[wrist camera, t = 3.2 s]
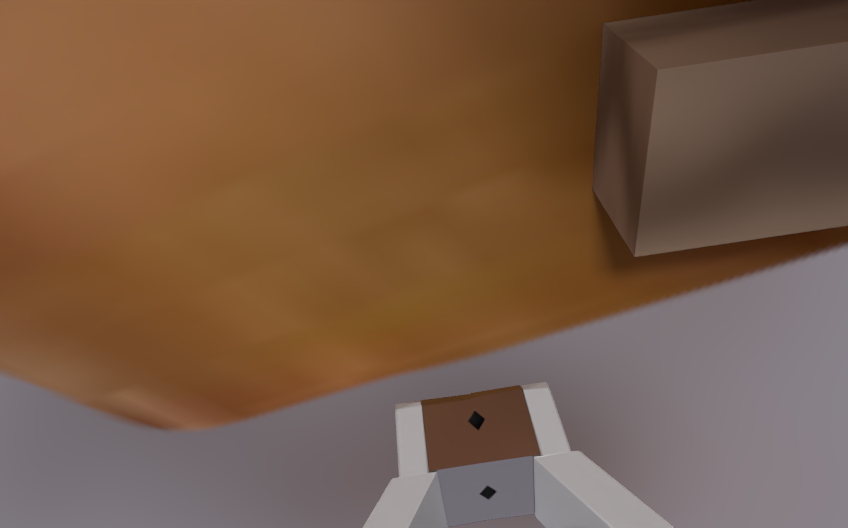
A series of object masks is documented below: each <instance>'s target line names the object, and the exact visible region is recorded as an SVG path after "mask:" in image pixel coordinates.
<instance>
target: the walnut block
mask: <svg viewBox="0 0 848 528" xmlns="http://www.w3.org/2000/svg"><path fill="white" fill-rule="evenodd" d="M592 190H593V191H594V193H595V194H596V196H597V198H598V199H599V201H600V202H601V204H602V206H603V207H604V209H605V211H606V212H607V214H608V215H609V217H610V219H611V220H612V222H613V223H614V225H615V227H616V228H617V230H618V231H619V233H620V235H621V236H622V238H623V240H624V241H625V243H626V244H627V246H628V248H629V249H630V251H631V252H632V254H633V256H634V257H639V256H645V255H652V254H659V253H666V252H672V251H679V250H686V249H693V248H700V247H706V246H713V245H720V244H727V243H733V242H740V241H747V240H754V239H761V238H767V237H774V236H781V235H788V234H794V233H801V232H808V231H815V230H821V229H828V228H835V227H842V226H848V0H754V1H747V2H740V3H734V4H727V5H720V6H714V7H707V8H701V9H694V10H687V11H681V12H674V13H667V14H661V15H654V16H647V17H641V18H634V19H627V20H621V21H614V22H608V23H603V32H602V47H601V63H600V78H599V93H598V109H597V124H596V139H595V155H594V170H593V186H592Z"/></svg>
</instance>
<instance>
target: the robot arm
mask: <svg viewBox="0 0 848 528" xmlns="http://www.w3.org/2000/svg"><path fill="white" fill-rule="evenodd" d="M395 416H396V433H397V451H398V469H399V477H396V478H391V480H390V482H389V483H388V485H387V487H386V489H385V490H384V492H383V494H382V495H381V497H380V499H379V500H378V502H377V504H376V505H375V507H374V509H373V510H372V512H371V514H370V516H369V517H368V519H367V520H366V522H365V524H364V526H363V527H362V528H448V527H452V526H457V525H463V524H469V523H474V522H480V521H485V520H491V519H500V518H508V517H516V516H524V515H532V514H535V517H536V518H537V519H538V520H539V521H540V522H541V523H542V524H543V526H544V527H545V528H675V527H673V526H672V525H671V524H670V523H668V522H667V521H666V520H665V519H663V518H662V517H661V516H660V515H659V514H657V513H656V512H655V511H654V510H652V509H651V508H650V507H649V506H647V505H646V504H645V503H644V502H643V501H641V500H640V499H639V498H638V497H636V496H635V495H634V494H633V493H631V492H630V491H629V490H628V489H627V488H625V487H624V486H623V485H622V484H620V483H619V482H618V481H617V480H615V479H614V478H613V477H612V476H610V475H609V474H608V473H607V472H606V471H604V470H603V469H602V468H601V467H599V466H598V465H597V464H595V463H594V462H593V461H592V460H591V459H590V458H588V457H587V456H586V455H585V454H583V453H582V452H581V451H580V450H576V451H571V448H570V446H569V442H568V439H567V437H566V434H565V431H564V428H563V425H562V422H561V419H560V416H559V413H558V411H557V407H556V405H555V402H554V399H553V396H552V393H551V390H550V387H549V385H548V384H547V383H546V382H540V383H534V384H528V385H521V386H512V387H506V388H500V389H493V390H488V391H482V392H476V393H471V394H468V395H460V396H452V397H444V398H436V399H429V400H422V401H414V402H407V403H400V404H396V410H395Z"/></svg>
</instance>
